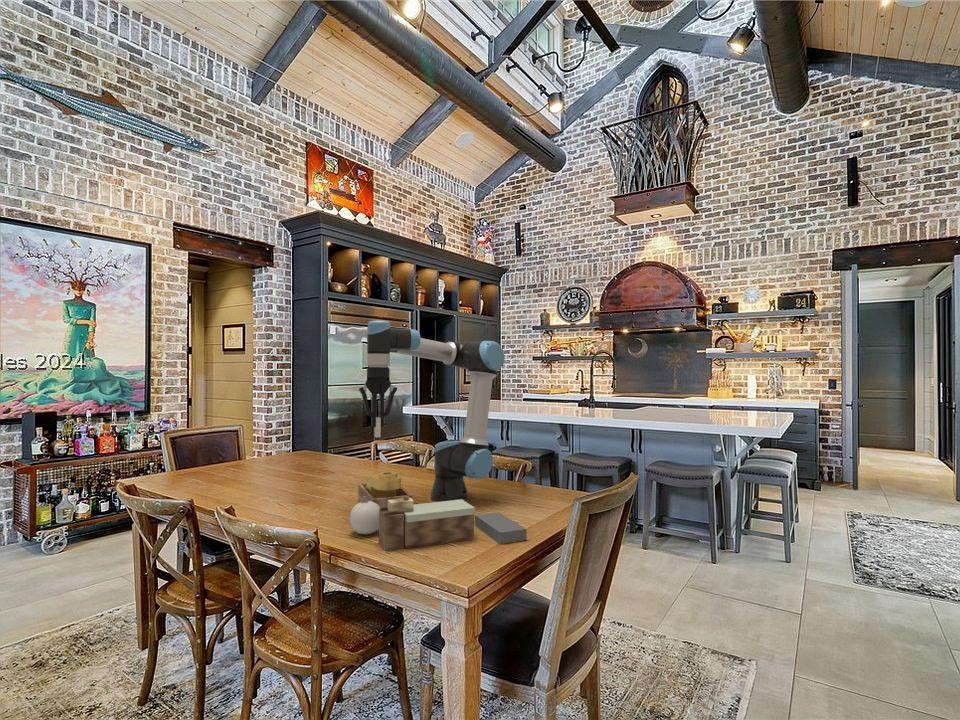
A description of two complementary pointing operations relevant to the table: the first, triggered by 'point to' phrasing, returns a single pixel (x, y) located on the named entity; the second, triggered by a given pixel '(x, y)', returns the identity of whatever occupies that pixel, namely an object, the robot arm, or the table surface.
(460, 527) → the toolbox
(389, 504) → the beige notched block
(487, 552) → the table surface
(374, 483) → the tan round stepped piece
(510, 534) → the block
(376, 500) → the box
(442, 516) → the lid
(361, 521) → the ornament
